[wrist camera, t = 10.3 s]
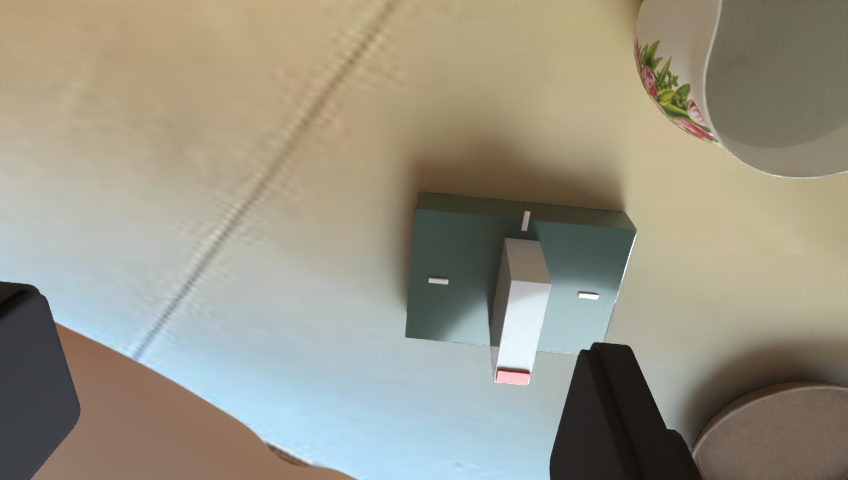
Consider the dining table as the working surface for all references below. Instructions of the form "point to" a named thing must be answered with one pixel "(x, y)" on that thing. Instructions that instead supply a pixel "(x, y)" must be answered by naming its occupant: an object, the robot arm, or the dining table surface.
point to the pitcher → (752, 78)
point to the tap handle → (518, 310)
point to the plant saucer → (778, 435)
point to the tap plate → (481, 257)
